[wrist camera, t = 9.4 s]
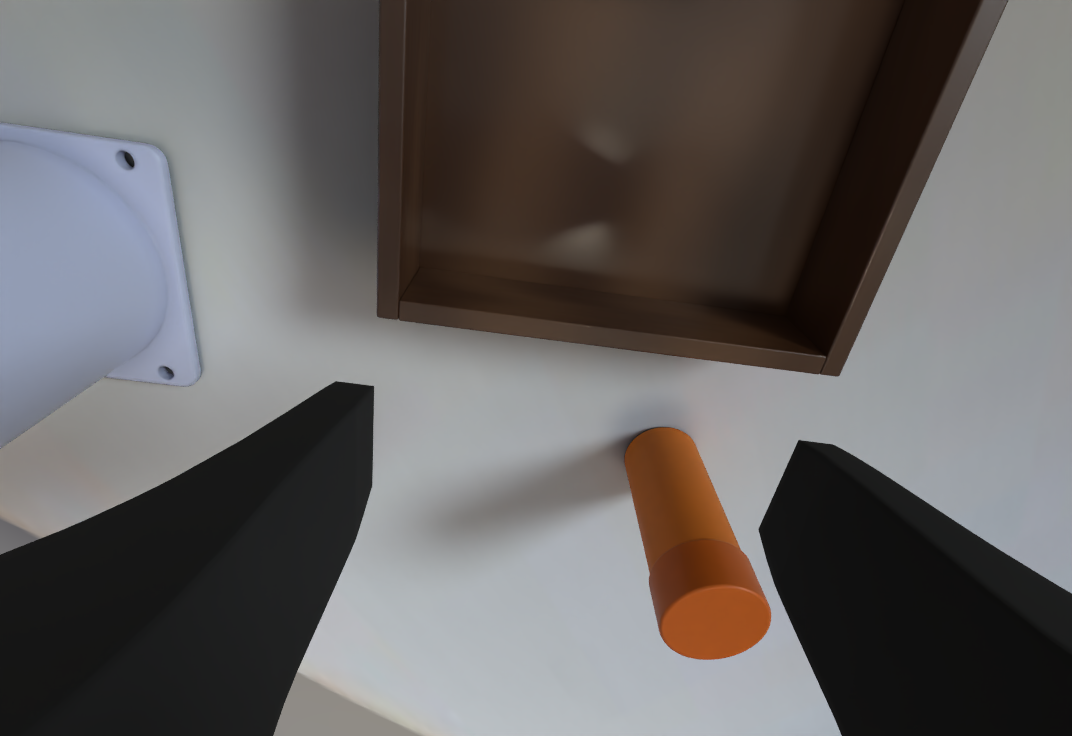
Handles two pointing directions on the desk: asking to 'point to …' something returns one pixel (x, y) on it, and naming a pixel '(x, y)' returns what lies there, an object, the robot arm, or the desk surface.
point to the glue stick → (692, 551)
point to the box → (661, 166)
